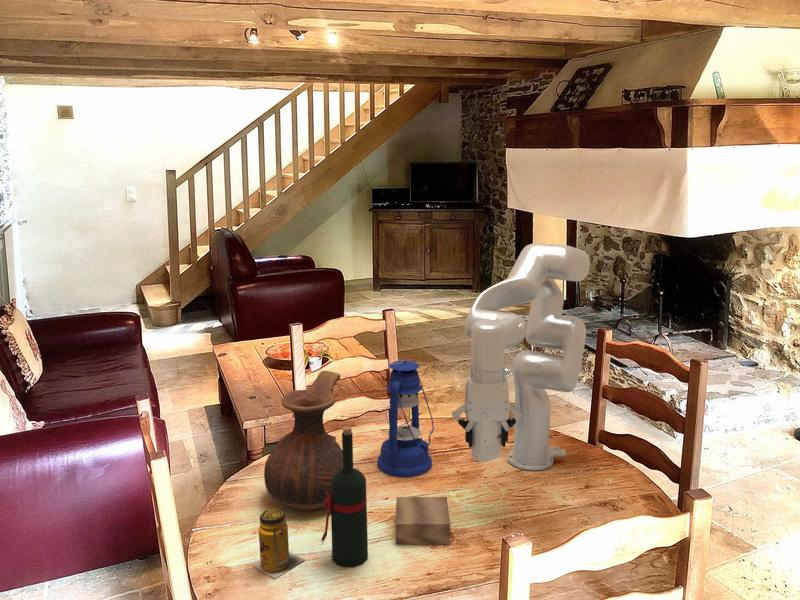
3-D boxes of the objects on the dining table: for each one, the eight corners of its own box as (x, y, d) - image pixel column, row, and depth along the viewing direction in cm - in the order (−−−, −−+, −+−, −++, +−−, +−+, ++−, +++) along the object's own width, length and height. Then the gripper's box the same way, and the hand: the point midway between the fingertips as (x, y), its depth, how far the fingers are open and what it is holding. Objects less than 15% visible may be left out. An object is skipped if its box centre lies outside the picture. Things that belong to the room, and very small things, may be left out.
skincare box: (482, 464, 166) (483, 415, 163) (470, 456, 169) (470, 409, 166) (502, 456, 169) (503, 409, 166) (490, 449, 173) (490, 403, 169)
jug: (364, 509, 174) (362, 393, 167) (277, 528, 166) (271, 407, 159) (337, 471, 194) (334, 365, 187) (257, 486, 186) (251, 377, 179)
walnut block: (446, 515, 171) (446, 496, 170) (449, 544, 159) (450, 524, 158) (396, 516, 171) (396, 497, 170) (396, 544, 159) (395, 524, 158)
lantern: (393, 447, 208) (392, 348, 201) (441, 456, 202) (442, 355, 195) (365, 472, 193) (363, 367, 186) (417, 483, 187) (417, 374, 180)
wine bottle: (318, 551, 157) (314, 424, 150) (363, 544, 160) (361, 418, 153) (324, 572, 150) (320, 439, 143) (372, 564, 152) (369, 433, 145)
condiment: (252, 566, 152) (249, 515, 149) (282, 548, 158) (280, 499, 155) (274, 579, 147) (271, 527, 145) (305, 561, 154) (303, 510, 151)
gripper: (522, 367, 167) (520, 437, 172) (448, 368, 167) (448, 438, 172) (528, 379, 160) (526, 451, 165) (450, 380, 160) (450, 452, 165)
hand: (486, 444), depth 168 cm, fingers closed on skincare box, 7 cm apart
